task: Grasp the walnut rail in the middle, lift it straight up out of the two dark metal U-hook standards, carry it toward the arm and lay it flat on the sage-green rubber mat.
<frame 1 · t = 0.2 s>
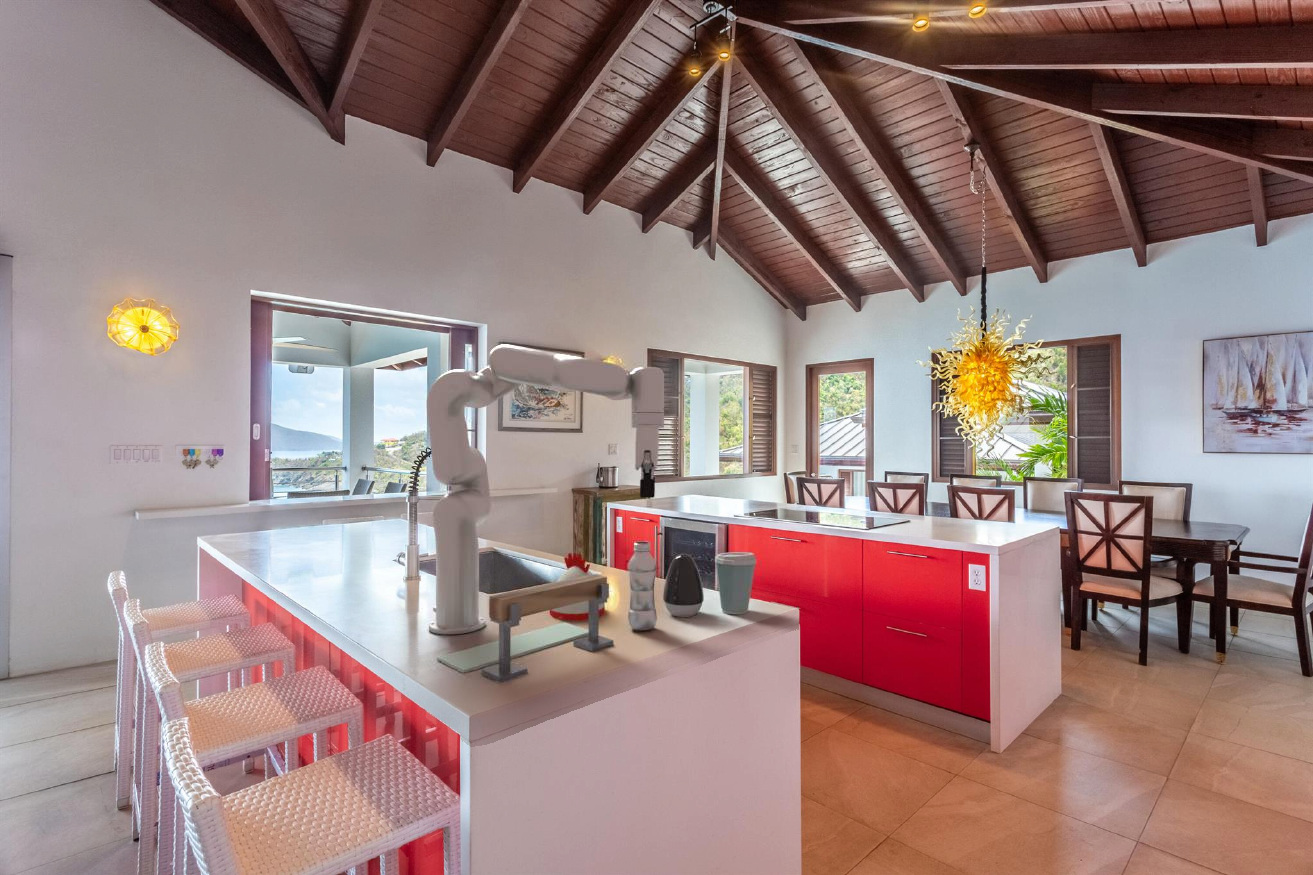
hand: (647, 495, 140), 31 cm above the countertop, tool pointing down, fingers open, 9 cm apart
mat: (519, 646, 129), on the countertop
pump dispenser: (683, 614, 153), on the countertop
disposable coffee cup: (735, 612, 156), on the countertop
hook standards: (552, 658, 122), on the countertop
plastic bottle: (642, 630, 141), on the countertop
kitchen timer: (577, 613, 155), on the countertop
rail: (552, 605, 122), point 10 cm above the countertop, touching hook standards
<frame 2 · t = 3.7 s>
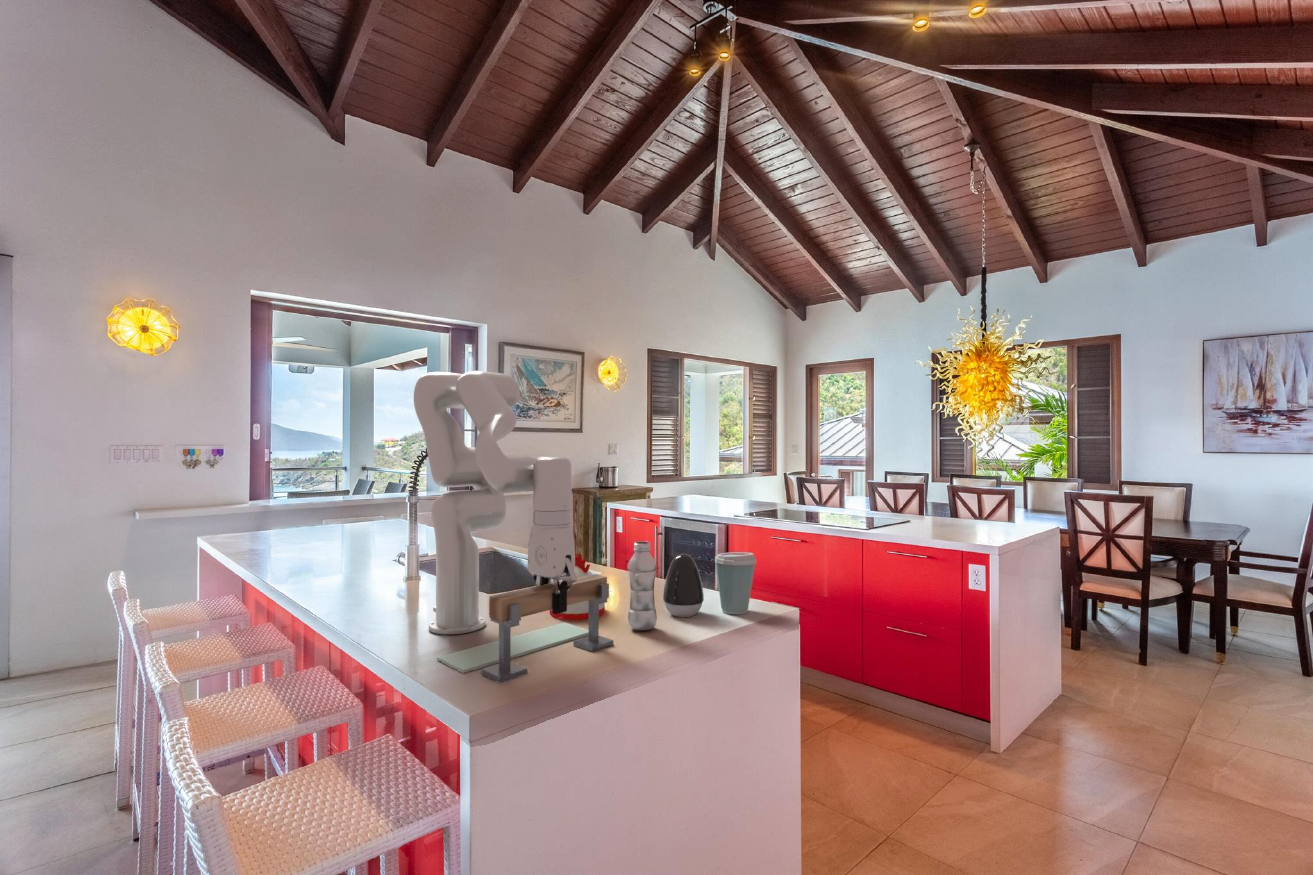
hand: (552, 609, 122), 10 cm above the countertop, tool pointing down, fingers closed on rail, 4 cm apart
rail: (552, 605, 122), point 11 cm above the countertop, touching gripper, hook standards
everything else where it was.
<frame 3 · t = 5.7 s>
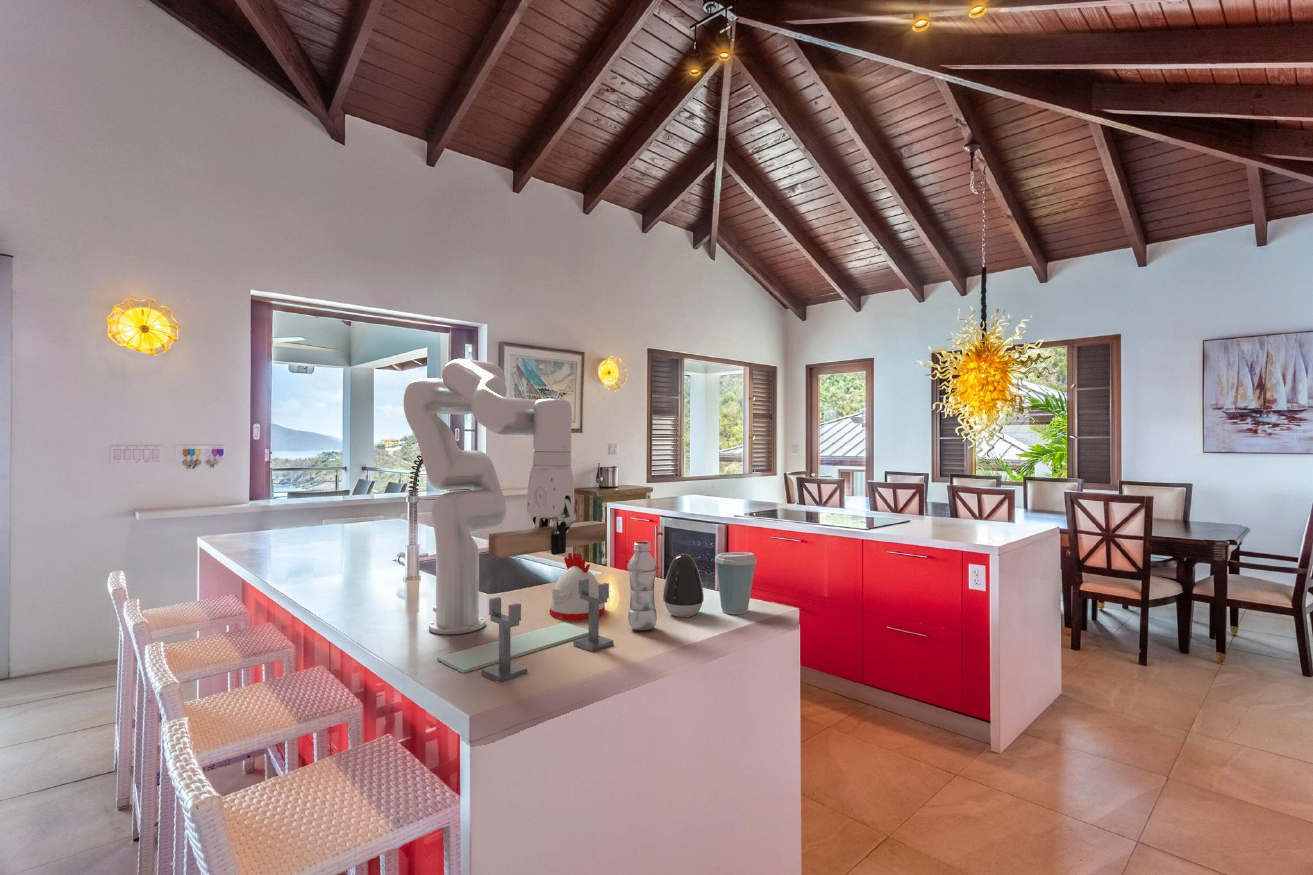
hand: (551, 551, 122), 21 cm above the countertop, tool pointing down, fingers closed on rail, 4 cm apart
rail: (551, 547, 122), point 22 cm above the countertop, touching gripper
everything else where it was.
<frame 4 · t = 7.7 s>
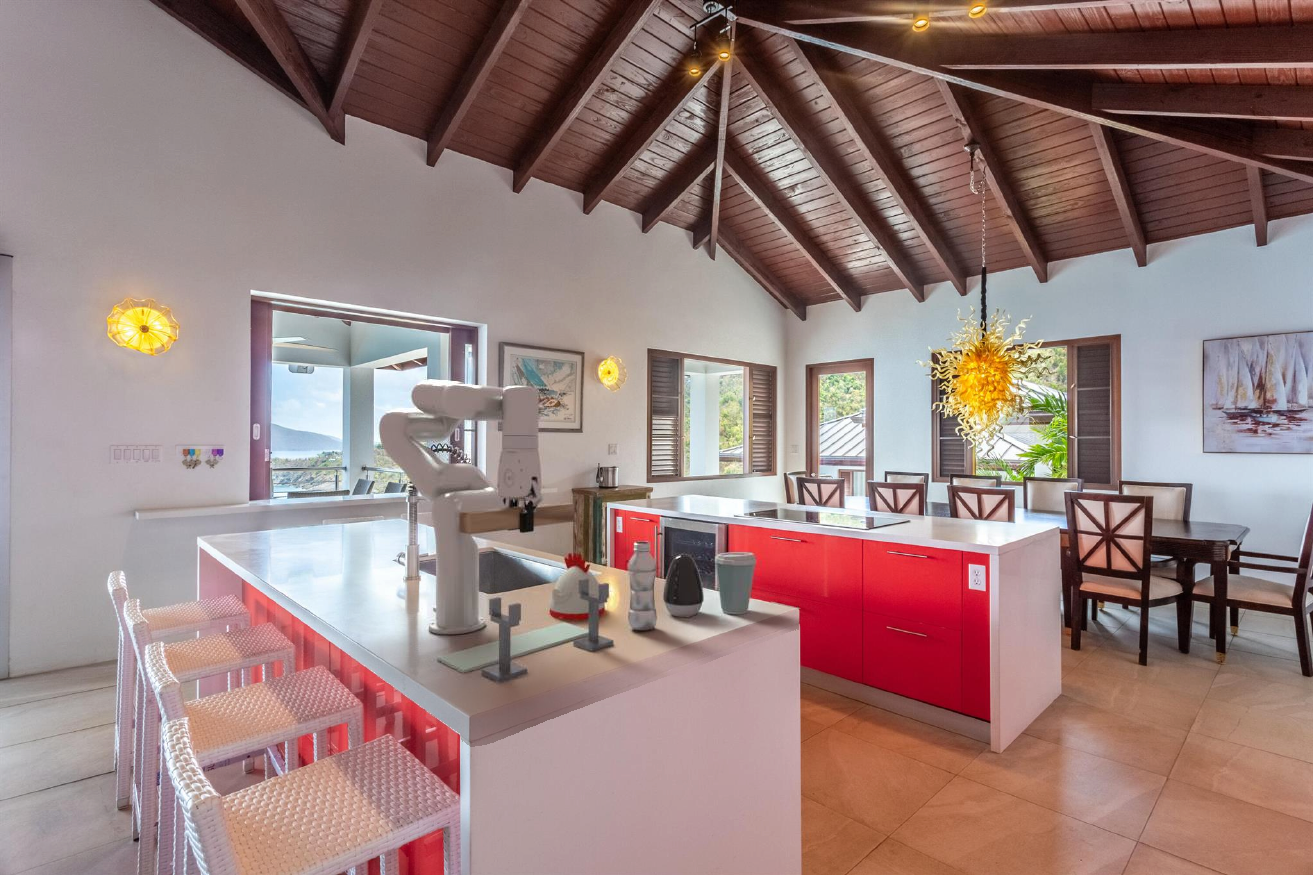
hand: (520, 529, 129), 25 cm above the countertop, tool pointing down, fingers closed on rail, 4 cm apart
rail: (520, 526, 129), point 25 cm above the countertop, touching gripper
everything else where it was.
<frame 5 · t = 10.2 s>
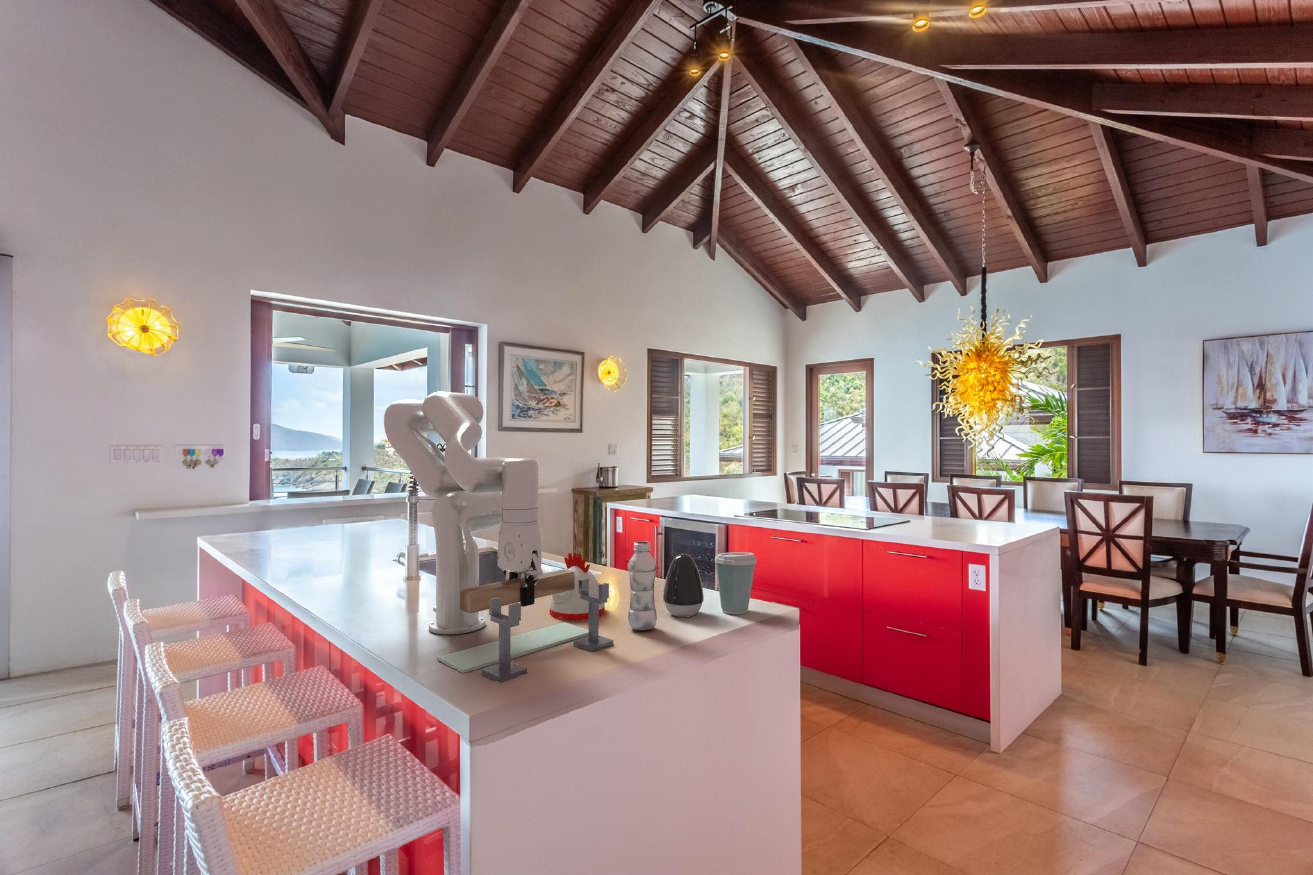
hand: (520, 602, 129), 9 cm above the countertop, tool pointing down, fingers closed on rail, 4 cm apart
rail: (520, 598, 129), point 10 cm above the countertop, touching gripper
everything else where it was.
when the fingers open (2 cm above the countertop, at t = 12.2 s): rail drops 2 cm, resting on mat.
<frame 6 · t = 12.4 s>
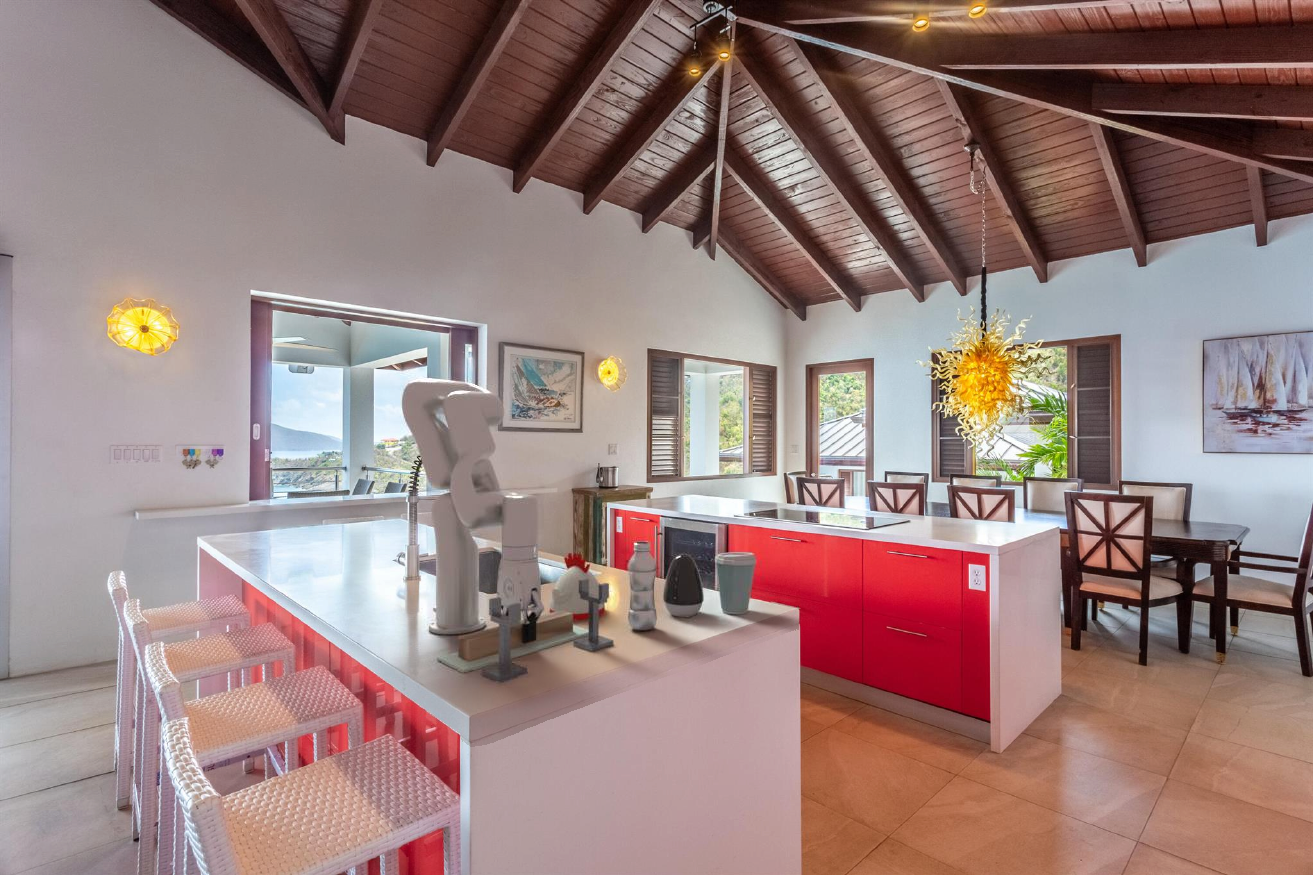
hand: (519, 637, 129), 2 cm above the countertop, tool pointing down, fingers open, 6 cm apart
rail: (519, 643, 129), point 1 cm above the countertop, touching mat
everything else where it was.
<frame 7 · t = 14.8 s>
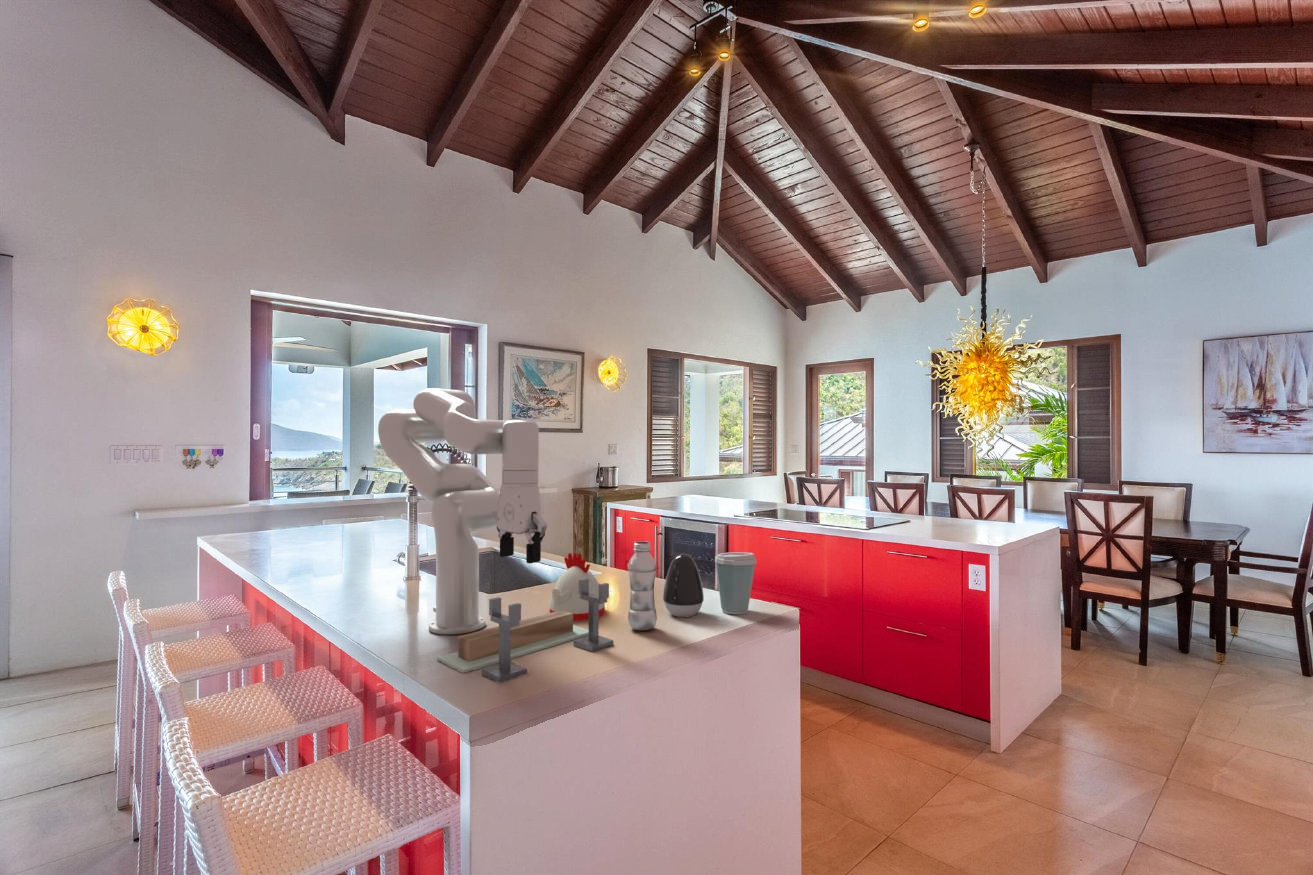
hand: (519, 559, 129), 18 cm above the countertop, tool pointing down, fingers open, 9 cm apart
nothing on the countertop moved.
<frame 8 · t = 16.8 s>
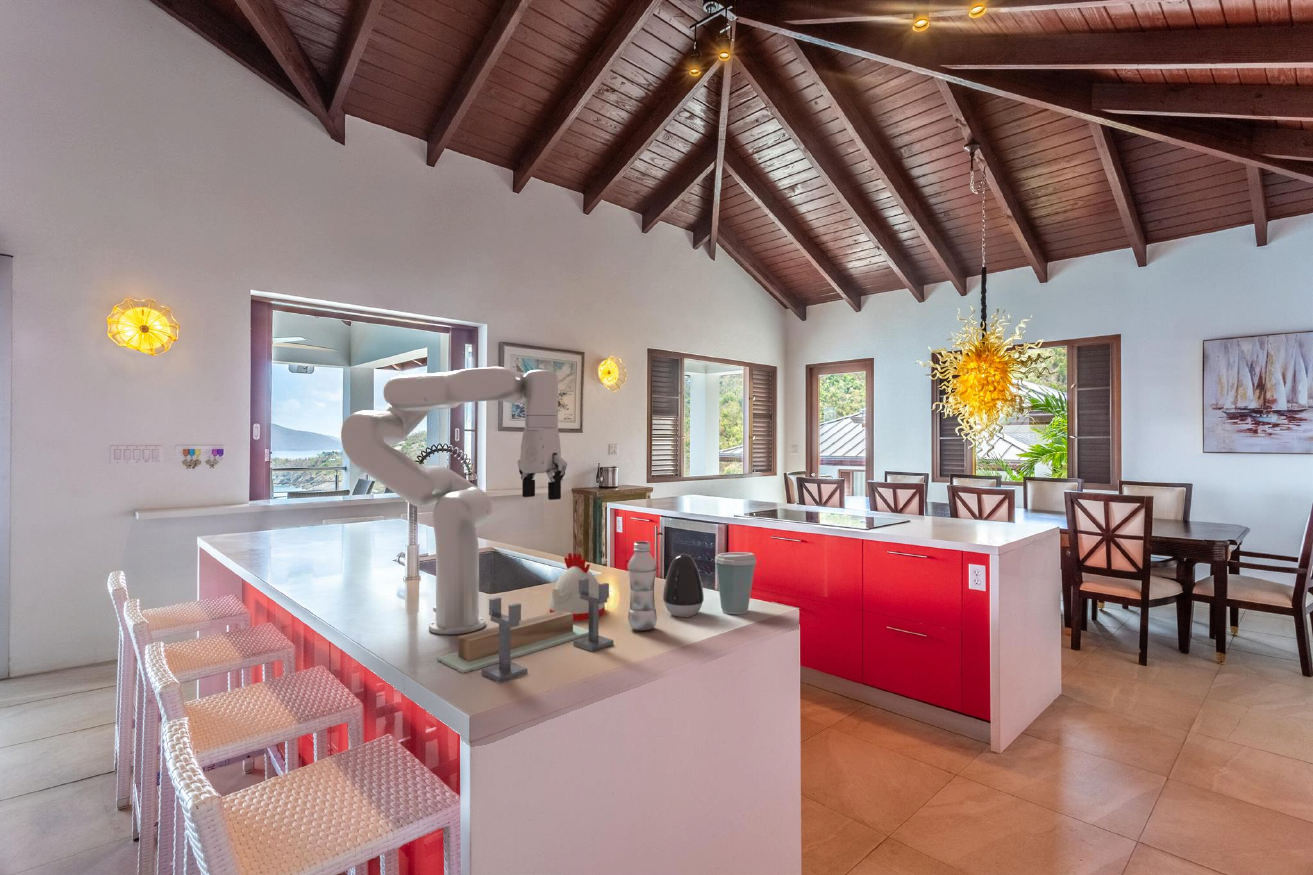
hand: (541, 498, 141), 30 cm above the countertop, tool pointing down, fingers open, 9 cm apart
nothing on the countertop moved.
at the end: rail inside the target area on the mat (0.2 cm from its centre), point 0.6 cm above the mat's base; rail tilted 0°; the gripper is holding nothing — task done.
